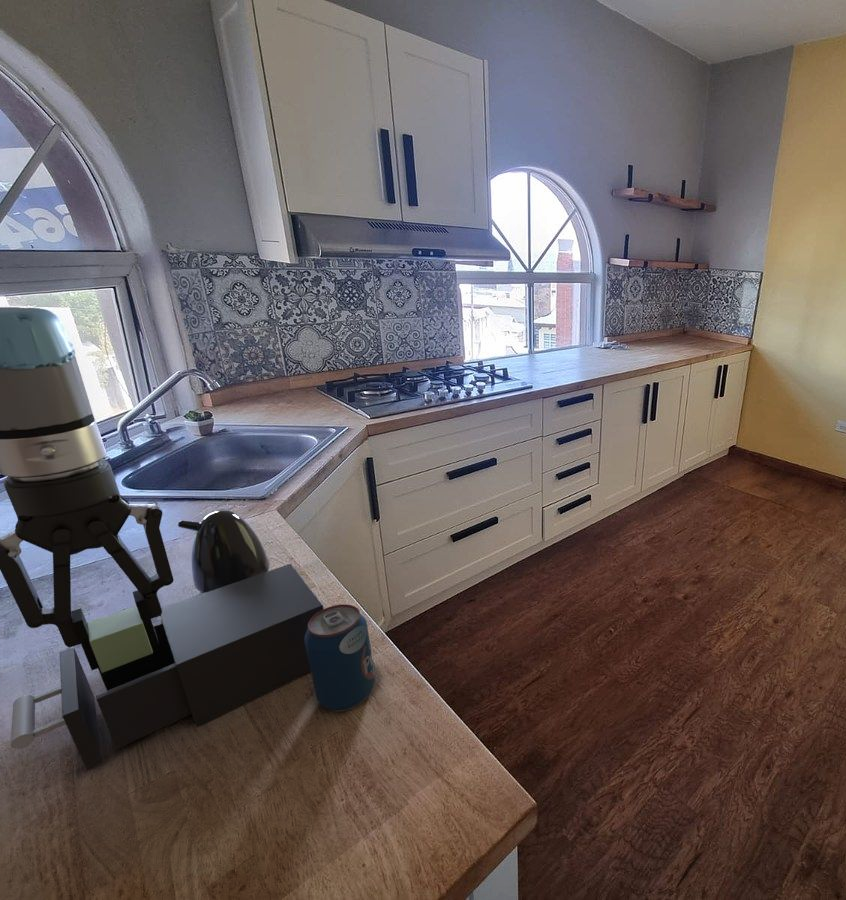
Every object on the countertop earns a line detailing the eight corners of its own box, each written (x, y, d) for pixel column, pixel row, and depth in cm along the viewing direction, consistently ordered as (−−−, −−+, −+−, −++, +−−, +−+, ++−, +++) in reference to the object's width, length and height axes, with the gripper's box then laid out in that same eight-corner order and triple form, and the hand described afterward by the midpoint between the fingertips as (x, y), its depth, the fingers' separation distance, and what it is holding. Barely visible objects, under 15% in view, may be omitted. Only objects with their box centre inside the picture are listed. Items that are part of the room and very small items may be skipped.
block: (98, 652, 58) (86, 621, 57) (148, 634, 61) (138, 605, 60) (101, 673, 56) (89, 641, 54) (153, 653, 59) (142, 623, 57)
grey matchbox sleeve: (196, 728, 60) (175, 665, 57) (176, 666, 69) (157, 608, 65) (333, 660, 71) (323, 604, 67) (301, 614, 79) (290, 563, 76)
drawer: (27, 798, 51) (-2, 742, 48) (29, 723, 59) (4, 671, 56) (245, 694, 64) (232, 645, 61) (222, 644, 72) (210, 599, 69)
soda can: (385, 695, 65) (373, 620, 61) (327, 726, 61) (311, 647, 57) (365, 665, 70) (353, 594, 66) (311, 691, 65) (294, 617, 61)
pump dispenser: (210, 581, 86) (188, 502, 81) (279, 570, 90) (262, 494, 85) (188, 618, 78) (162, 532, 72) (266, 605, 81) (246, 522, 76)
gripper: (-91, 506, 42) (13, 714, 50) (174, 457, 54) (222, 631, 62) (-77, 478, 47) (15, 672, 55) (163, 439, 59) (209, 603, 67)
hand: (125, 650), depth 58 cm, fingers closed on block, 4 cm apart
